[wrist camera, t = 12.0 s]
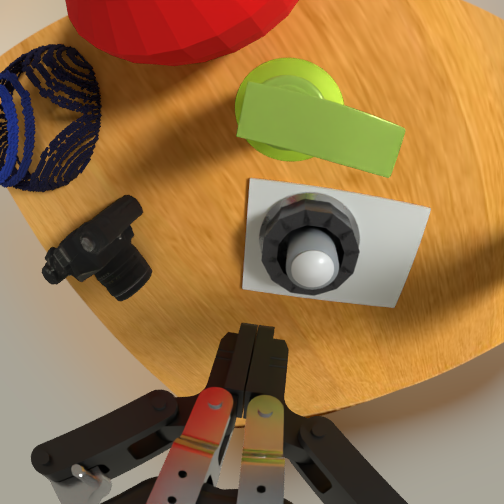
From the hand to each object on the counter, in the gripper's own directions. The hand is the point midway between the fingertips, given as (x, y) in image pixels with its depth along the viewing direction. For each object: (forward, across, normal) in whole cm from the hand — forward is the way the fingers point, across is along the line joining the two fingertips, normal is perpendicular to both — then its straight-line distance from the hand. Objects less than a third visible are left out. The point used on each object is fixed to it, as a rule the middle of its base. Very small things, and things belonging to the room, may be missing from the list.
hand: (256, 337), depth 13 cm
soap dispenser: (+20, -1, -9) cm, 22 cm away
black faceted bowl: (+20, -3, +5) cm, 20 cm away
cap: (+19, -4, +5) cm, 20 cm away
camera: (+20, +21, +9) cm, 30 cm away
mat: (+20, -6, +6) cm, 22 cm away
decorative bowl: (+20, +31, -9) cm, 38 cm away
